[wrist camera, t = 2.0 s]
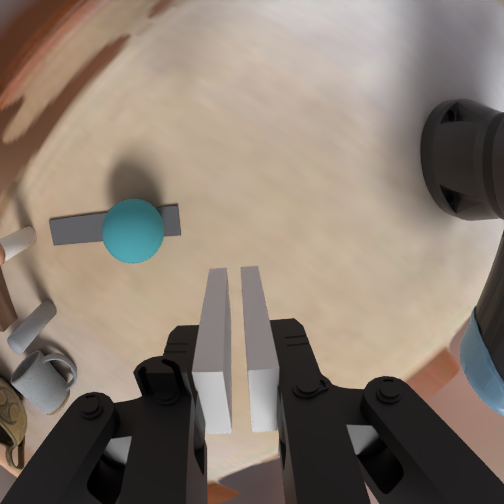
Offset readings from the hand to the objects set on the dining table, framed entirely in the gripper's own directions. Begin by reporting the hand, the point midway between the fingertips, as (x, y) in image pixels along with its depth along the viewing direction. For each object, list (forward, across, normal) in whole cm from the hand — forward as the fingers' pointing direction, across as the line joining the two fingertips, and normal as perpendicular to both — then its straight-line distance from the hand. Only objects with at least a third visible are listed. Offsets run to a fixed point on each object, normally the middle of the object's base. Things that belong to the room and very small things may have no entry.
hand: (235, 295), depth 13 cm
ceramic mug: (+17, +30, +21) cm, 40 cm away
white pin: (+16, +26, 0) cm, 30 cm away
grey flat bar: (+16, +14, 0) cm, 21 cm away
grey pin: (+16, +26, +10) cm, 32 cm away
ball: (+13, +10, 0) cm, 16 cm away
